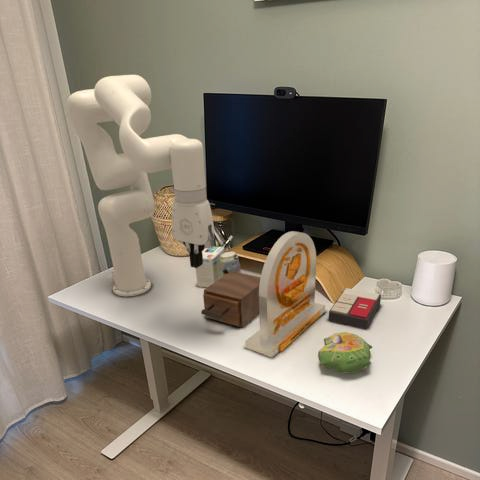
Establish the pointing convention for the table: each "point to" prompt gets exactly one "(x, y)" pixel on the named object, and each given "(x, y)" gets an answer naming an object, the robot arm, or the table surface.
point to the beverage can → (229, 263)
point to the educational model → (345, 353)
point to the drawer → (221, 309)
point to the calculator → (355, 308)
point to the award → (286, 294)
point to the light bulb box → (210, 266)
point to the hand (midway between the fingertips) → (196, 265)
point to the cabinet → (239, 293)
